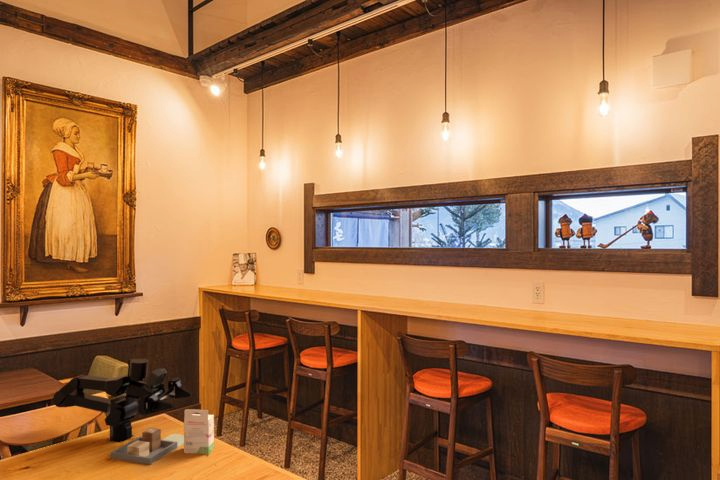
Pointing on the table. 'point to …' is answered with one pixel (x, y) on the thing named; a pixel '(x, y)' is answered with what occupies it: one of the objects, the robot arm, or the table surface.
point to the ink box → (198, 432)
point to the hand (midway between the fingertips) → (182, 400)
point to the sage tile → (176, 439)
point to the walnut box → (152, 438)
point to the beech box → (138, 448)
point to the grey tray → (150, 459)
